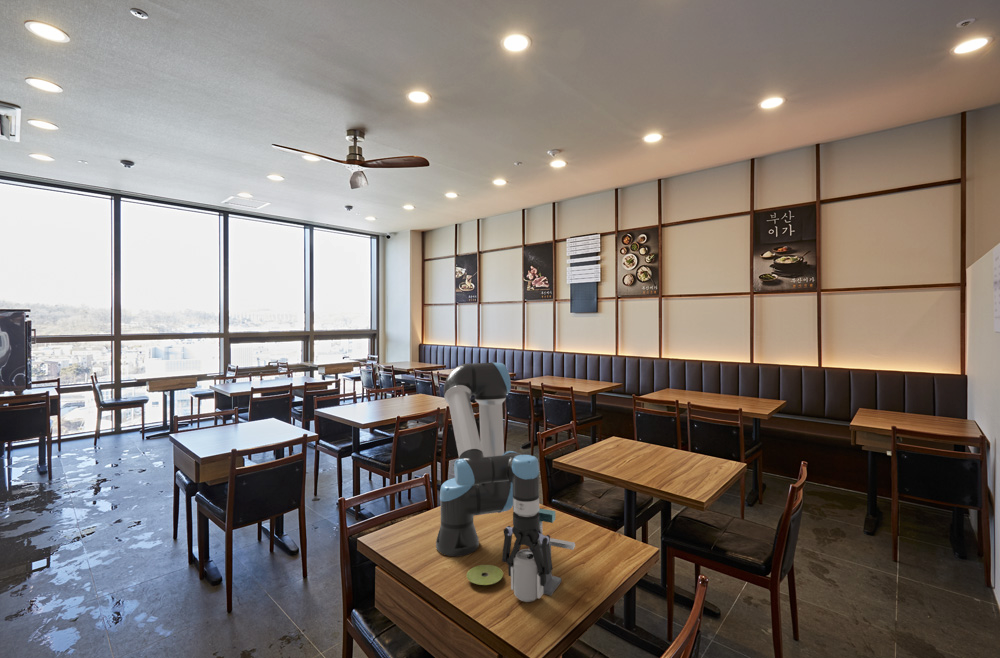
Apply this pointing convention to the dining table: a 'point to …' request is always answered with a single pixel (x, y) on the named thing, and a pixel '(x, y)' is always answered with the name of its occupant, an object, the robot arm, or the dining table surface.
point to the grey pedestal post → (550, 580)
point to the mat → (484, 574)
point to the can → (525, 576)
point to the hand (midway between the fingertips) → (527, 591)
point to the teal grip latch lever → (550, 517)
